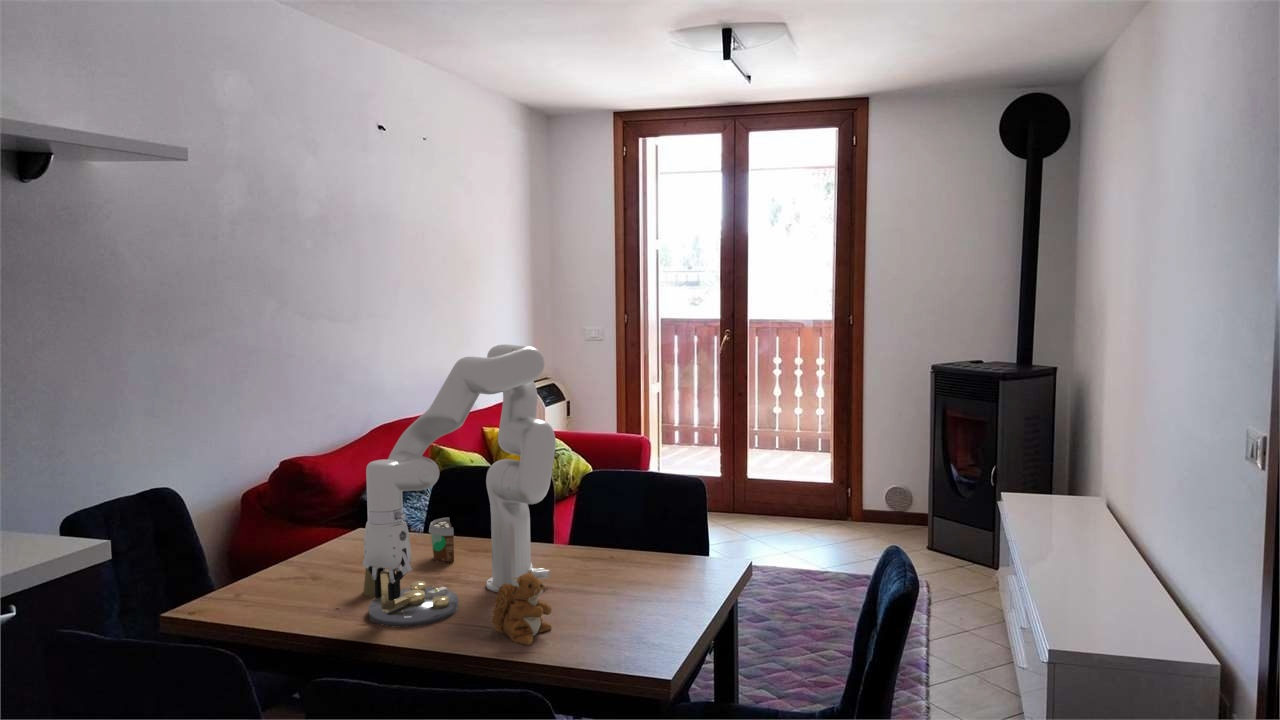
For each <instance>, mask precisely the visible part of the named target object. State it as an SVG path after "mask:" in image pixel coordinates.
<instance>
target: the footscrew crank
mask: <svg viewBox="0 0 1280 720" xmlns="http://www.w3.org/2000/svg"><path fill="white" fill-rule="evenodd" d="M388 583H390V576H389V569H385V570H384V571H381V572H380V585H381V608H382V611H385V612H390V611H392V610H394V609H397V608H399V607H401V606H403V605H418V604H421V603H423V602H425V592H424V591H423V590H410V591H406V592H404V593H403V594H402V596H403V597H401V598H399V599H396V600H395V599H394V600H392V601H390V600H389V599H388Z"/></svg>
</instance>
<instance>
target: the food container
mask: <svg viewBox="0 0 1280 720" xmlns="http://www.w3.org/2000/svg"><path fill="white" fill-rule="evenodd" d="M454 532H455V531H454V527H452V523H451V522H450V517H442V518H437V519H434V520H433V521H431V522H430V524H429V528H428V533H429V534H431V535H430V536H431V543H432V544H431V545H432V554H433V560H434V562H436V561H438V562H437V563H439V562H448V563H447V564H450V563H449V562H454V563H455V543H454V542H455V540H454V539H455V538H454V536H455V533H454Z"/></svg>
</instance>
